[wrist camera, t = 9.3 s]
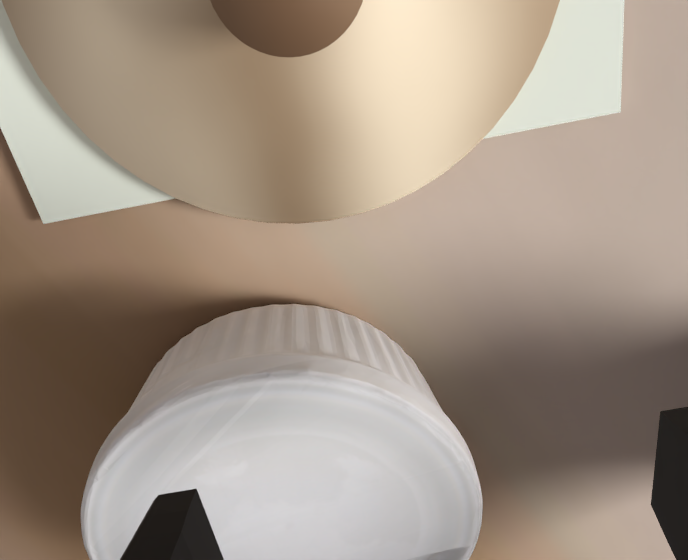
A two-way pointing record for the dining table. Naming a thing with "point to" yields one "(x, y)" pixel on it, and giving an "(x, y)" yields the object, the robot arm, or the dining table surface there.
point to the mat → (128, 191)
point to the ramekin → (290, 445)
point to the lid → (284, 92)
